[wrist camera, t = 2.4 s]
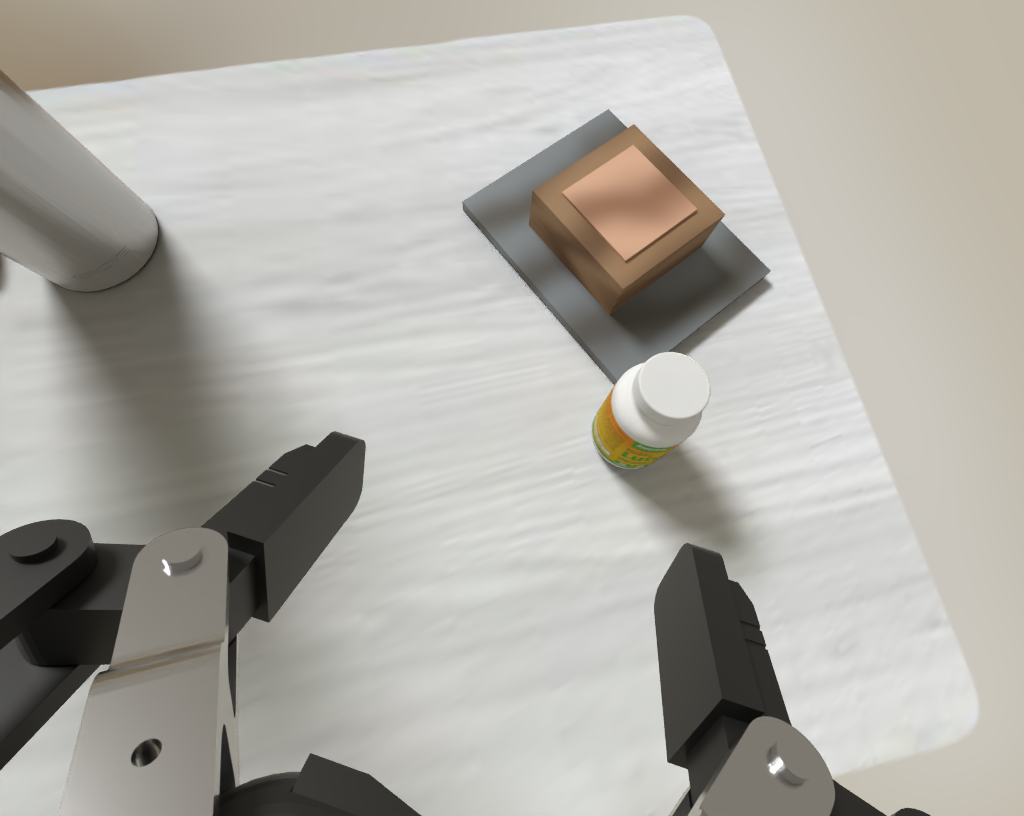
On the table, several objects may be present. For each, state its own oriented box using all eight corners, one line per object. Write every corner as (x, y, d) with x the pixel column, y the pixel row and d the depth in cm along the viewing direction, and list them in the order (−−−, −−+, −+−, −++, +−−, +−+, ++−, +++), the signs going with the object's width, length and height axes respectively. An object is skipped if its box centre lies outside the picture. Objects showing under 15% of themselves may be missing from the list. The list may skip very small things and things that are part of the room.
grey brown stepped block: (463, 209, 39) (458, 162, 34) (605, 118, 41) (620, 62, 36) (619, 390, 35) (640, 367, 30) (763, 277, 38) (804, 239, 33)
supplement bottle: (604, 479, 33) (647, 443, 24) (580, 410, 34) (611, 352, 25) (674, 459, 33) (741, 417, 24) (646, 393, 35) (700, 330, 26)
